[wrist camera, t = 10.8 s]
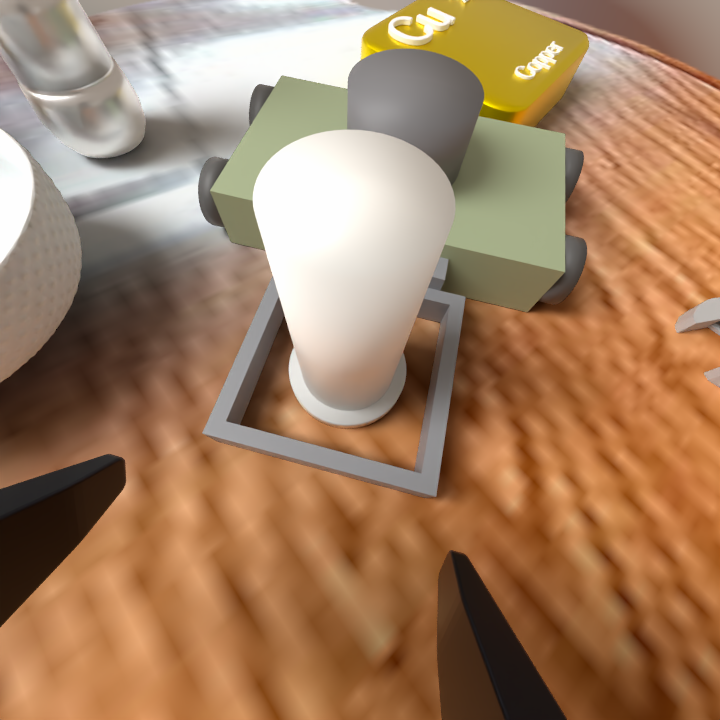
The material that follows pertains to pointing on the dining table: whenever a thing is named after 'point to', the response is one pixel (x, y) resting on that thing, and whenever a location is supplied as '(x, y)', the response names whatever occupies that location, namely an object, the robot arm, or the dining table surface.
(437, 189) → the white cylindrical piece
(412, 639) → the dining table surface
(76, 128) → the plastic bottle
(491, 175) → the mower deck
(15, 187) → the cereal bowl
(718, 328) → the adjustable wrench
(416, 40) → the element tile
